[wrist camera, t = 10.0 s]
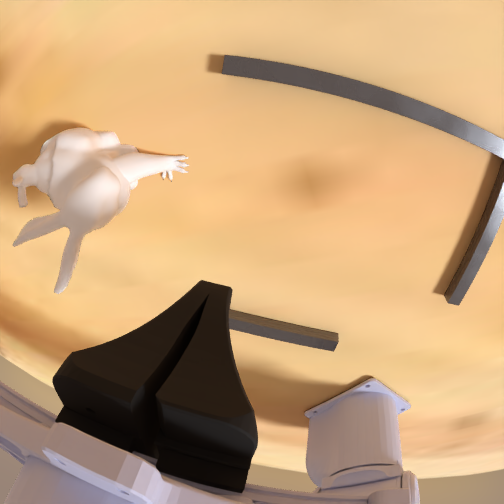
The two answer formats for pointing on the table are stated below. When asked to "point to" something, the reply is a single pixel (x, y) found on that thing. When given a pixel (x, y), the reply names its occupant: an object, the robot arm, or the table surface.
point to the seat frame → (500, 200)
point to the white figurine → (85, 185)
